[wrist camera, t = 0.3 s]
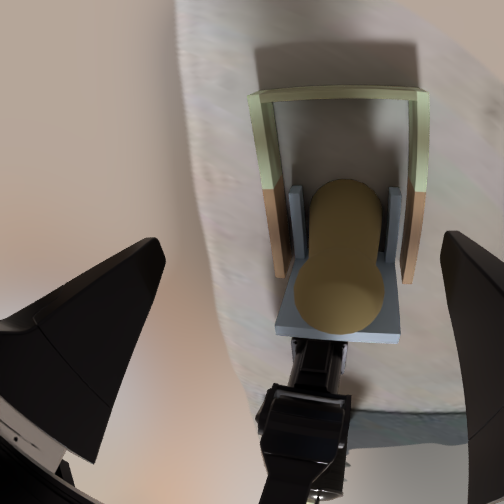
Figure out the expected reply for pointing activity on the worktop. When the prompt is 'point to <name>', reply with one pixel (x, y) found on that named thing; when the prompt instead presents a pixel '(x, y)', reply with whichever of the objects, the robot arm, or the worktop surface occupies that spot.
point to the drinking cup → (330, 479)
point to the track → (273, 173)
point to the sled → (388, 318)
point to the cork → (341, 260)
